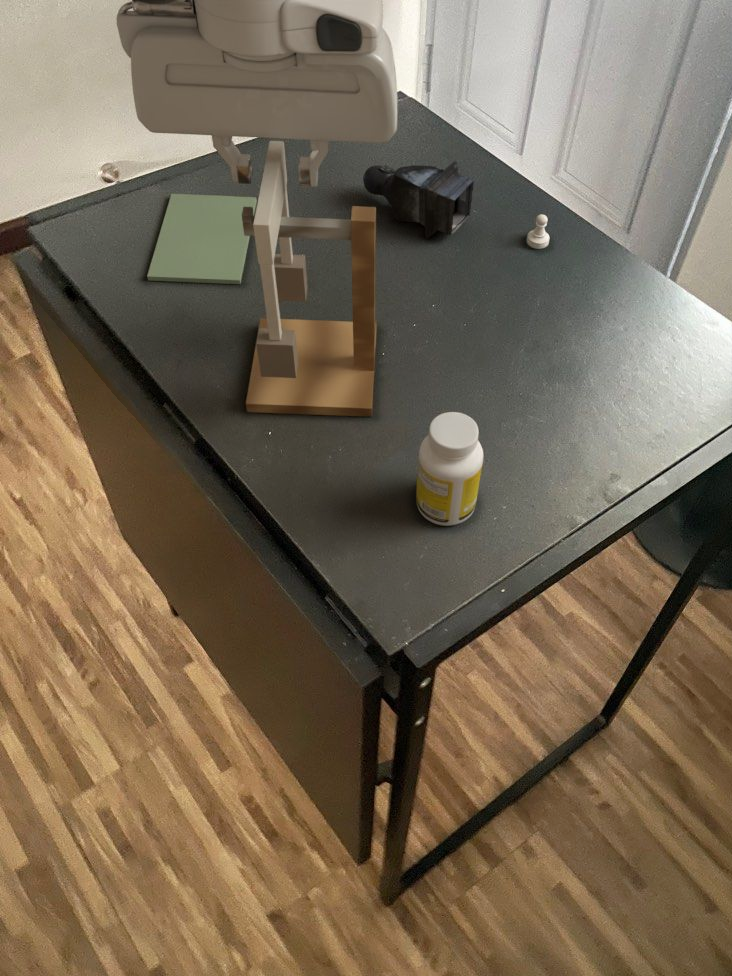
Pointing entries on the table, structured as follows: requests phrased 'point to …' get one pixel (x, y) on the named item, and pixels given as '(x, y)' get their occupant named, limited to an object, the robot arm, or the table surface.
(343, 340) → the stand
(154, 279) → the mat
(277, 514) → the table surface
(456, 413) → the supplement bottle
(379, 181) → the dark knob-ended part
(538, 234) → the chess pawn
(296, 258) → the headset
